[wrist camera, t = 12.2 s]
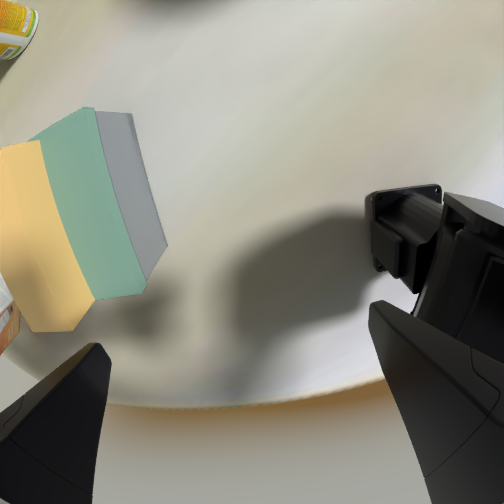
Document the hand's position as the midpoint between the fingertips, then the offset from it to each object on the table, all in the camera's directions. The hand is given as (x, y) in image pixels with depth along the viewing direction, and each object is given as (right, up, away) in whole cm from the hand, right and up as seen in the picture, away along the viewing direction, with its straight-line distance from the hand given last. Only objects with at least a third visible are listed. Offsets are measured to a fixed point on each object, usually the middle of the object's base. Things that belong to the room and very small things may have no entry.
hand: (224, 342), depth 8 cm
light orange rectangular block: (-12, +4, +4) cm, 13 cm away
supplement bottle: (-20, +23, +3) cm, 31 cm away
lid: (-12, +4, +5) cm, 14 cm away
